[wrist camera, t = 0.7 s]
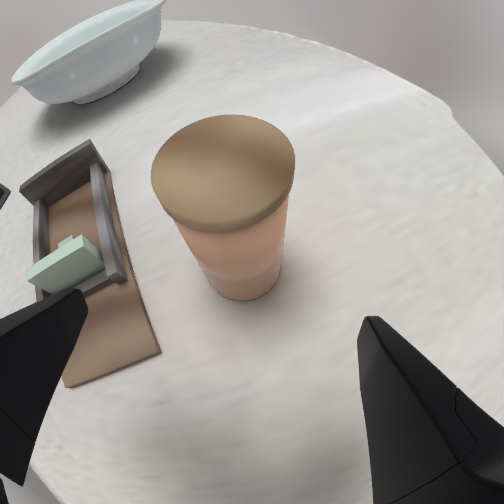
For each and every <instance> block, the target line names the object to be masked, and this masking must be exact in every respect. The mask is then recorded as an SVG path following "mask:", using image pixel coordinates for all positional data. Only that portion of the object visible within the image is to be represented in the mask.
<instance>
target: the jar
mask: <svg viewBox="0 0 504 504" xmlns="http://www.w3.org/2000/svg"><path fill="white" fill-rule="evenodd" d="M294 169H295V154H294V150H293V147H292V145H291V143H290V141H289V140H288V138H287V137H286V136H285V135H284V134H283V132H281V131H280V130H279V129H278V128H276V127H275V126H273V125H272V124H270V123H268V122H266V121H264V120H261V119H258V118H255V117H251V116H244V115H220V116H214V117H209V118H205V119H202V120H199V121H196V122H194V123H192V124H190V125H188V126H186V127H184V128H182V129H181V130H179V131H178V132H176V133H175V134H174V135H173V136H171V137H170V138H169V139H168V140H167V141H166V142H165V143H164V144H163V146H162V147H161V148H160V150H159V151H158V153H157V155H156V157H155V159H154V161H153V164H152V169H151V183H152V187H153V190H154V192H155V194H156V196H157V197H158V199H159V201H160V203H161V205H162V206H163V208H164V210H165V211H166V212H167V213H168V215H169V216H171V217H172V218H173V220H174V222H175V224H176V225H177V227H178V229H179V231H180V233H181V234H182V236H183V238H184V240H185V241H186V243H187V245H188V247H189V248H190V250H191V252H192V254H193V255H194V257H195V259H196V260H197V262H198V264H199V266H200V267H201V269H202V271H203V272H204V274H205V276H206V277H207V279H208V281H209V282H210V284H211V285H212V287H213V288H214V289H215V290H216V291H217V292H218V293H219V294H221V295H222V296H224V297H226V298H228V299H231V300H236V301H248V300H253V299H256V298H258V297H260V296H262V295H264V294H265V293H267V292H268V291H269V290H270V289H271V288H272V287H273V286H274V284H275V283H276V281H277V279H278V276H279V273H280V267H281V259H282V251H283V242H284V233H285V225H286V215H287V206H288V197H289V192H290V190H291V187H292V184H293V178H294Z"/></svg>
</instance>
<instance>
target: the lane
mask: <svg viewBox="0 0 504 504" xmlns="http://www.w3.org/2000/svg"><path fill="white" fill-rule="evenodd" d="M19 192H20V193H21V194H22V195H23V196H24V197H25V198H26V199H27V200H28V201H29V202H30V203H31V204H32V205H33V206H34V215H33V262H34V264H35V263H37V262H38V261H40V260H41V259H43V258H44V257H46V256H47V255H49V254H51V253H52V252H54V251H55V250H57V249H58V243H60V242H61V241H63V240H65V239H66V238H68V237H69V236H71V235H73V236H74V237H75V238H76V237H78V236H80V235H81V234H82V235H83V236H84V237H85V238H86V239H88V240H89V241H90V242H91V243H92V244H93V245H94V246H95V247H96V248H98V249H99V250H100V251H101V252H102V255H103V260H104V264H105V270H103V271H101V272H100V273H98V274H96V275H94V276H92V277H90V278H88V279H87V280H85V281H83V282H81V283H79V284H77V285H76V286H74V288H79V289H81V290H82V292H83V295H84V298H85V300H86V303H87V306H88V316H87V318H86V320H85V323H84V325H83V327H82V330H81V332H80V335H79V337H78V340H77V343H76V345H75V348H74V350H73V352H72V354H71V356H70V358H69V361H68V363H67V365H66V367H65V369H64V371H63V373H62V379H63V382H64V385H65V388H72V387H75V386H77V385H80V384H83V383H86V382H88V381H91V380H94V379H96V378H99V377H102V376H104V375H107V374H109V373H112V372H114V371H117V370H120V369H122V368H125V367H127V366H129V365H132V364H134V363H137V362H139V361H142V360H144V359H146V358H149V357H151V356H154V355H156V354H158V353H161V349H160V347H159V344H158V342H157V339H156V337H155V334H154V331H153V329H152V326H151V323H150V321H149V318H148V315H147V312H146V309H145V306H144V303H143V301H142V298H141V294H140V291H139V288H138V285H137V282H136V279H135V275H134V272H133V269H132V265H131V262H130V258H129V255H128V251H127V247H126V244H125V240H124V236H123V232H122V228H121V223H120V219H119V215H118V210H117V206H116V201H115V196H114V191H113V186H112V181H111V175H110V170H109V169H108V167H107V165H106V164H105V162H104V161H103V159H102V158H101V156H100V154H99V153H98V151H97V150H96V148H95V146H94V145H93V143H92V142H91V140H90V139H89V140H87V141H85V142H84V143H82V144H80V145H79V146H77V147H75V148H74V149H72V150H70V151H69V152H67V153H66V154H64V155H63V156H61V157H60V158H58V159H56V160H55V161H54V162H52V163H51V164H49V165H48V166H46V167H45V168H43V169H42V170H41V171H39V172H38V173H36V174H35V175H34V176H32V177H31V178H30V179H28V180H27V181H26V182H24V183H23V184H22V185H21V186H20V189H19ZM35 290H36V300H37V302H38V301H40V300H43V299H45V298H47V297H49V296H52V294H50V293H48V292H47V291H45V290H43V289H41V288H39V287H37V286H35Z"/></svg>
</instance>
